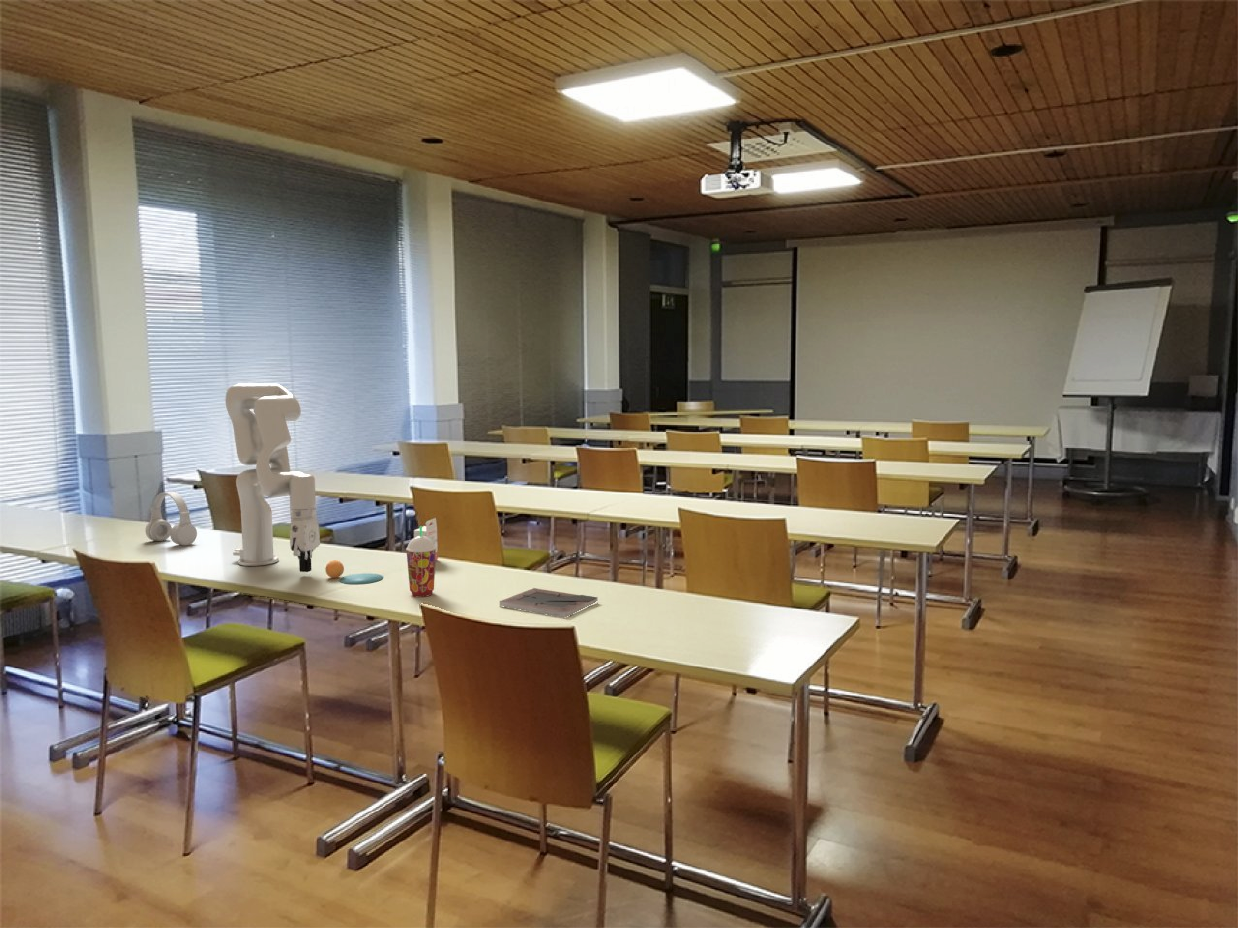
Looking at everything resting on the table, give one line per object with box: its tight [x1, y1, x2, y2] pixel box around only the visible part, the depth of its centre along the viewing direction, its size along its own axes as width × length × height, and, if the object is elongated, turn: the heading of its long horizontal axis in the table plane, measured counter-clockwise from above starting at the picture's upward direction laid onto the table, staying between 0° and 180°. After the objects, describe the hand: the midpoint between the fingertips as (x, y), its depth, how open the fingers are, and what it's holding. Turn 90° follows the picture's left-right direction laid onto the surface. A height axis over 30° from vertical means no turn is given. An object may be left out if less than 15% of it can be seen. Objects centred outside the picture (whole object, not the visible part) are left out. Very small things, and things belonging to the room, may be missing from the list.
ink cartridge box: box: [413, 517, 439, 562], centre depth 285 cm, size 9×5×15 cm, turn 168°
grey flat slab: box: [499, 587, 598, 618], centre depth 234 cm, size 16×2×22 cm
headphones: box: [145, 491, 198, 547], centre depth 315 cm, size 20×8×19 cm, turn 60°
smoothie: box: [405, 525, 436, 597], centre depth 244 cm, size 8×8×20 cm
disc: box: [338, 572, 384, 585], centre depth 262 cm, size 13×13×1 cm
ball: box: [324, 560, 345, 579], centre depth 264 cm, size 6×6×6 cm
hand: (305, 571), depth 266 cm, fingers closed
